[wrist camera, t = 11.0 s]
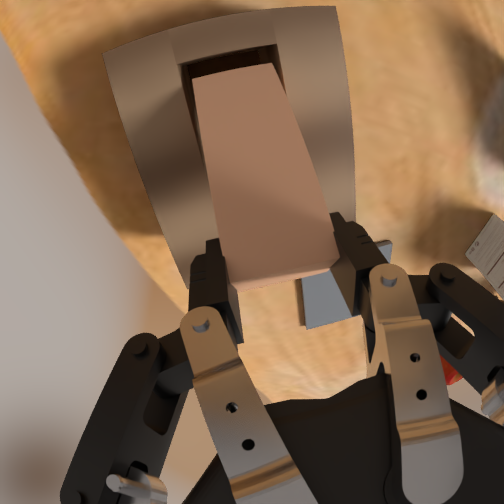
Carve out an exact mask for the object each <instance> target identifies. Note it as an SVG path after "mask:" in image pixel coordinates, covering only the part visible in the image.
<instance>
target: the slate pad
mask: <svg viewBox="0 0 504 504" xmlns="http://www.w3.org/2000/svg"><path fill="white" fill-rule="evenodd" d="M376 246H377V247H378V248H379V250H380V251H381V252H382V254H383V255H384V257H385V258H386V259H387V261H388V262H389V264H390V259H391V251H392V242H391V241H390V240H389V241H385V242H381V243H377V244H376ZM301 286H302V296H303V306H304V316H305V326H306V329H307V330H308V329H312V328H315V327H319V326H323V325H327V324H330V323H334V322H337V321H341V320H345V319H348V318H351V317H352V315H351V313H350V311H349V309H348V307H347V304H346V302H345V300H344V298H343V296H342V294H341V292H340V289H339V287H338V285H337V283H336V281H335V279H334V277H333V275H332V273H331V271H330V269H329V270H328V271H327V272H324V273H320V274H316V275H312V276H308V277H303V278H301ZM360 315H361V314H360ZM357 316H358V315H357ZM354 317H355V316H354Z"/></svg>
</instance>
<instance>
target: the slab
mask: <svg viewBox="0 0 504 504" xmlns="http://www.w3.org/2000/svg"><path fill="white" fill-rule="evenodd" d="M192 82H193V89H194V95H195V102H196V108H197V114H198V121H199V127H200V133H201V139H202V145H203V151H204V157H205V163H206V169H207V174H208V180H209V186H210V191H211V197H212V202H213V208H214V213H215V219H216V224H217V229H218V234H219V240H220V245H221V250H222V255H223V256H225V260H226V265H227V270H228V275H229V280H230V283H231V284H232V285H233V286H234V287H235V288H236V289H237V292H242V291H247V290H251V289H256V288H260V287H265V286H269V285H274V284H278V283H282V282H287V281H291V280H295V279H299V278H303V277H308V276H312V275H316V274H320V273H324V272H327V271H328V270H329V268H330V267H331V266H332V265H333V264H334V263H335V262H336V261H337V260H338V259H339V258H340V255H339V251H338V248H337V244H336V241H335V237H334V234H333V232H334V228H333V225H332V221H331V218H330V215H329V212H328V209H327V205H326V202H325V199H324V196H323V193H322V190H321V187H320V184H319V181H318V178H317V175H316V172H315V169H314V167H313V164H312V161H311V158H310V155H309V153H308V150H307V147H306V144H305V142H304V139H303V136H302V134H301V131H300V129H299V126H298V123H297V121H296V118H295V116H294V113H293V111H292V108H291V106H290V103H289V101H288V99H287V96H286V94H285V91H284V89H283V87H282V84H281V82H280V80H279V77H278V75H277V73H276V70H275V68H274V66H273V64H272V63H267V64H261V65H255V66H249V67H244V68H238V69H233V70H228V71H224V72H219V73H215V74H210V75H206V76H202V77H198V78H194V79H192Z"/></svg>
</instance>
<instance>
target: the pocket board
mask: <svg viewBox="0 0 504 504" xmlns="http://www.w3.org/2000/svg"><path fill="white" fill-rule="evenodd" d="M254 50H258V53H259V58H260V63H261V64H267V63H272V64H273V66H274V68H275V70H276V73H277V75H278V77H279V80H280V82H281V84H282V87H283V89H284V91H285V94H286V96H287V99H288V101H289V103H290V106H291V108H292V111H293V113H294V116H295V118H296V121H297V123H298V126H299V129H300V131H301V134H302V136H303V139H304V142H305V144H306V147H307V150H308V153H309V155H310V158H311V161H312V164H313V167H314V169H315V172H316V175H317V178H318V181H319V184H320V187H321V190H322V193H323V196H324V199H325V202H326V205H327V209H328V212H329V213H333V212H339V213H340V214H341V215H342V217H343V218H344V220H345V221H346V222H349V221H354V222H356V193H355V161H354V143H353V128H352V116H351V105H350V95H349V86H348V78H347V70H346V63H345V56H344V50H343V43H342V37H341V32H340V26H339V21H338V16H337V11H336V6H302V7H286V8H274V9H265V10H257V11H249V12H243V13H236V14H231V15H225V16H220V17H215V18H210V19H206V20H201V21H197V22H193V23H189V24H185V25H181V26H178V27H174V28H171V29H167V30H164V31H161V32H158V33H155V34H152V35H149V36H146V37H143V38H140V39H137V40H134V41H132V42H129V43H126V44H124V45H121V46H119V47H116V48H114V49H112V50H109V51H107V52H105V53H102V55H103V59H104V63H105V66H106V70H107V74H108V77H109V81H110V84H111V88H112V91H113V95H114V98H115V101H116V104H117V108H118V111H119V114H120V117H121V120H122V123H123V127H124V130H125V133H126V136H127V139H128V142H129V145H130V147H131V150H132V153H133V156H134V159H135V162H136V165H137V167H138V170H139V173H140V176H141V178H142V181H143V184H144V186H145V189H146V192H147V194H148V197H149V199H150V202H151V205H152V207H153V210H154V212H155V215H156V217H157V220H158V222H159V225H160V227H161V230H162V232H163V234H164V237H165V239H166V242H167V244H168V246H169V249H170V251H171V253H172V256H173V258H174V260H175V263H176V265H177V267H178V270H179V272H180V274H181V276H182V278H183V281H184V283H185V285H186V287H187V289H189V284H190V265H191V263H192V261H193V260H194V258H195V256H196V255H201V254H205V253H206V240H210V239H215V238H219V234H218V229H217V224H216V219H215V213H214V208H213V202H212V197H211V191H210V186H209V180H208V174H207V169H206V163H205V157H204V151H203V145H202V139H201V133H200V127H199V121H198V114H197V108H196V102H195V95H194V91H193V87H192V83H191V79H190V75H189V71H188V67H187V65H189V64H193V63H197V62H201V61H205V60H209V59H213V58H218V57H222V56H227V55H232V54H237V53H243V52H248V51H254Z"/></svg>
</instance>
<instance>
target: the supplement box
mask: <svg viewBox="0 0 504 504" xmlns="http://www.w3.org/2000/svg"><path fill="white" fill-rule="evenodd" d="M465 256H466V257H467V258H468V259H469V260H470V261H471V262H472V263H473V264H474V265H475V267H476V268H477V269H478V270H479V271H480V272H481V273H482V274H483V276H484V277H485V278H486V279H487V280H488V282H489V283H490V284H491V285H492V286H493V288H494V289H495V290H496V291H497V293H498V294H499V295H500V296H501V298H502V299H503V300H504V221H502V220H501V219H500V218H499V217H498V216H497V215H495V214H493V215H492V216H491V218H490V219H489V221H488V222H487V224H486V225H485V226H484V228H483V229H482V231H481V232H480V234H479V235H478V236H477V238H476V239H475V240H474V242H473V243H472V245H471V246H470V247H469V249H468V250H467V252H466V253H465Z"/></svg>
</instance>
